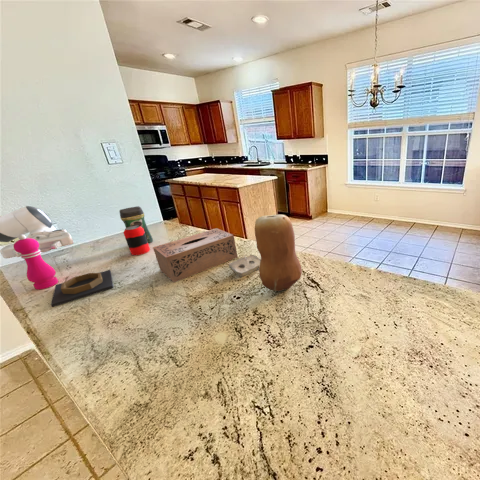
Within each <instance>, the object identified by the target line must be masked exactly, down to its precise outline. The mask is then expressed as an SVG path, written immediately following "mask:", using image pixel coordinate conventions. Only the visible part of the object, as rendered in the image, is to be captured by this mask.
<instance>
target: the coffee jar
mask: <svg viewBox="0 0 480 480" xmlns="http://www.w3.org/2000/svg"><path fill="white" fill-rule="evenodd" d="M119 217H120V220H121V221H122V222H123V224H124V227H125V228H127V227H131V226H140V227H142V228H143V229H144V232H145V235H146V238H147V241H148V244H151V243H152V242H153V241H154V239H153V236H152V233H151V232H150V230H149V228H148V225H147V223H146V220H145V212H144V210H143V209H142V207H141V206H139V205H138V206H132V207H126V208H122V209H119Z"/></svg>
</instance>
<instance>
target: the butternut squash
mask: <svg viewBox="0 0 480 480" xmlns="http://www.w3.org/2000/svg"><path fill="white" fill-rule="evenodd" d="M254 236H255V242H256V249H257V251H258V253H259V255H260V259H261V261H260V267H259V269H258V270H259V271H258V273H259V279H260V281H261V284H262V286H264V287H265V288H267V289H269V290H270V291H274V292H282V291H284V290H286V291H287V290H289V289H291V288H292V287H293V286H294V285H295V284H296V283H297V282H298V281H299V280H300V279H301V277H302V274H303V268H302V265H301V262H300V259H299V258H298V255H297V252H296V238H295V230H294V227H293V222H292V221H291V219H290V217H288V216H287V215H286V214H270V215H262V216H260V217H258V218H256V220H255V222H254Z"/></svg>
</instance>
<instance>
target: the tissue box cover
mask: <svg viewBox="0 0 480 480" xmlns="http://www.w3.org/2000/svg"><path fill="white" fill-rule="evenodd" d="M152 249H153V252H154V255H155V258H156V262H157V265H158V267H159V271H160V272H161V273H163V274H164V275H165V276H166V277H168V279H169V280H170V281H171V282H172V283H176V282H179V281H181V280H184V279H186V278H189V277H191V276H194V275H197V274H199V273H201V272H205V271H207V270H209V269H211V268H214V267H217V266H219V265H221V264H225V263H227V262H229V261H231V260H234V259H236V258H238V256H239V255H238V251H237V246H236V241H235V235H234V234H233V233H229V232H227V231H225V230H222V229H220V228H218V227H216V228H212V229H209V230H206V231H202V232H199V233H196V234H192V235H189V236H186V237H182V238H179V239H175V240H172V241H168V242H165V243H163V244H159V245H156V246H153V247H152Z"/></svg>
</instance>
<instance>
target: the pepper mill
mask: <svg viewBox="0 0 480 480" xmlns="http://www.w3.org/2000/svg"><path fill="white" fill-rule="evenodd" d="M13 244H14V249H15V251H16V252H19V253H21V254H20V256H21V257H20V258H21V259H23V260H24V261H25V263H26V267H27V269H26V278H27V280H28V281H29V282H30V283H33V285H32V286H33V287H34V289H35V290H38V291H39V290H45V289H48V288H51V287H53V286H56V285H57V284H59V280H58V277H57V276H56V269H55V268H54V267H53V266H51V265H50V264H49V263H47V262H46V261H45V260H44V258H43V257H42V255H41V254H42V252H40V250H39V249H38V248H39V243H38V241H36V240H35V239H32V238H27V236H26V234H24V235H19V236H18V240H16V241H15V242H14V243H13Z"/></svg>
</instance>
